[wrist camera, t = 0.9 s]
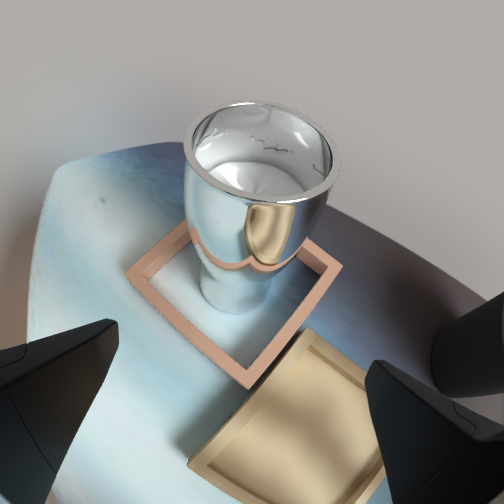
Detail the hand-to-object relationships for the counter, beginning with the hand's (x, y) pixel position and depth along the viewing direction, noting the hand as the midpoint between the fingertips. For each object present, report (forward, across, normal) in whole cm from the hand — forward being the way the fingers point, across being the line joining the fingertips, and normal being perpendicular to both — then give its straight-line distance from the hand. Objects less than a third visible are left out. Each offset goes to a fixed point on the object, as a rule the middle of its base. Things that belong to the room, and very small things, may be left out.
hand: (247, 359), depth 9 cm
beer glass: (+15, +1, +3) cm, 16 cm away
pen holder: (+11, -24, +7) cm, 27 cm away
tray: (+6, -8, +13) cm, 16 cm away
